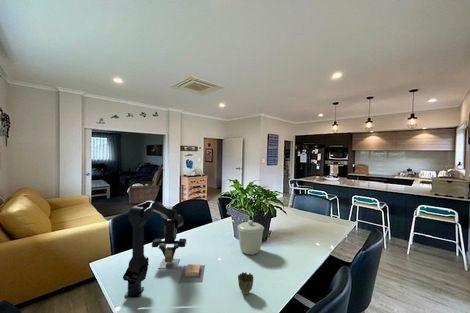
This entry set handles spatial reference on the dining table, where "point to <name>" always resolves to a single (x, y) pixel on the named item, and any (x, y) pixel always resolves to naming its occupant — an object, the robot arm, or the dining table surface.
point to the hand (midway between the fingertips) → (169, 257)
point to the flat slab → (192, 270)
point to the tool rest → (168, 264)
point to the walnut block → (169, 254)
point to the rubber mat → (192, 278)
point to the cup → (245, 282)
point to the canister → (250, 237)
